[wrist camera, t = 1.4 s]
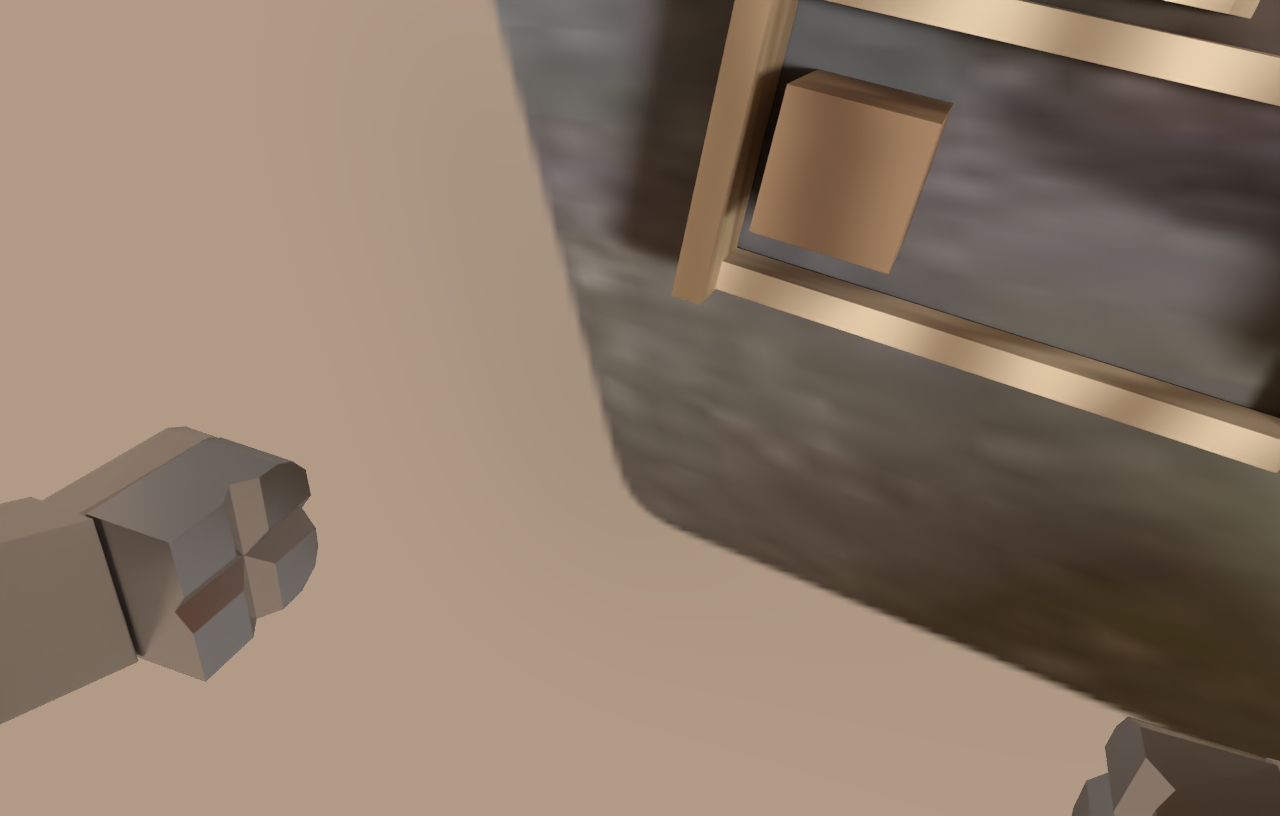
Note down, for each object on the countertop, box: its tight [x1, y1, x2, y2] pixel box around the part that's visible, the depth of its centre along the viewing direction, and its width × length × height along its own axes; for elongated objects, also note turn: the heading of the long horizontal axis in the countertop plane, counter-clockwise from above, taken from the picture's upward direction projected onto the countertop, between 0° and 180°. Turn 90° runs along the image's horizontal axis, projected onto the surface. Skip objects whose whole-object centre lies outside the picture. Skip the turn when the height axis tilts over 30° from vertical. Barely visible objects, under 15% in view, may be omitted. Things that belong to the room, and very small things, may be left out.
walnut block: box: [749, 69, 953, 274], centre depth 30 cm, size 5×5×5 cm
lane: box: [671, 0, 1280, 473], centre depth 27 cm, size 27×12×6 cm, turn 79°
